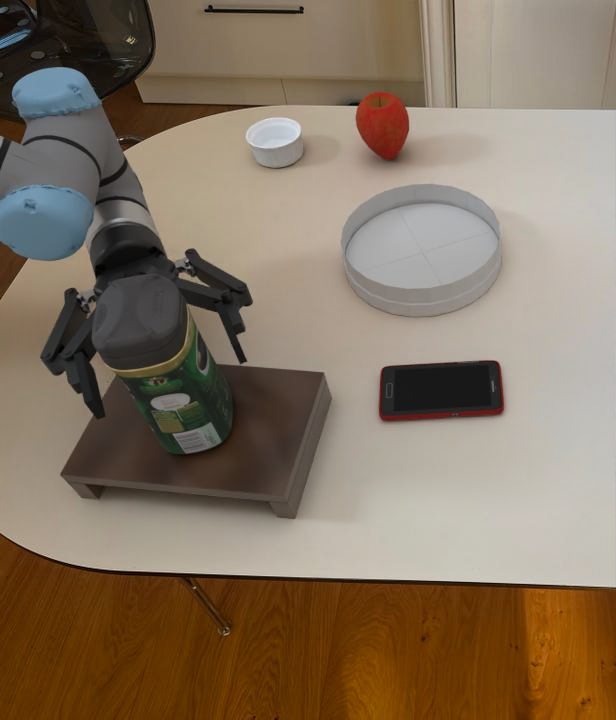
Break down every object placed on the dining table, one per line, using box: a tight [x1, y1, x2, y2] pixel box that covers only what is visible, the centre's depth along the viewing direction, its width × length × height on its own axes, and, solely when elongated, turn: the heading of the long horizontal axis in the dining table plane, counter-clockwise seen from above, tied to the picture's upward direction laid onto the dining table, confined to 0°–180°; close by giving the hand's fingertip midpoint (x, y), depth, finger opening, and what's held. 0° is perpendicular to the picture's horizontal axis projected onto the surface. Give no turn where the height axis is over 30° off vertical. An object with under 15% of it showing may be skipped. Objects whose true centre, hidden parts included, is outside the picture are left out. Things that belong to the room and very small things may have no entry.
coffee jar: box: [92, 274, 233, 454], centre depth 70 cm, size 10×8×19 cm
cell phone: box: [378, 359, 505, 421], centre depth 84 cm, size 8×15×1 cm, turn 93°
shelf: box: [59, 363, 333, 519], centre depth 79 cm, size 24×16×5 cm, turn 83°
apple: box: [355, 91, 410, 161], centre depth 112 cm, size 9×8×11 cm
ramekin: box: [245, 117, 304, 169], centre depth 115 cm, size 9×9×4 cm
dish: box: [340, 183, 503, 318], centre depth 98 cm, size 22×22×5 cm
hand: (169, 381), depth 67 cm, fingers open, 13 cm apart
